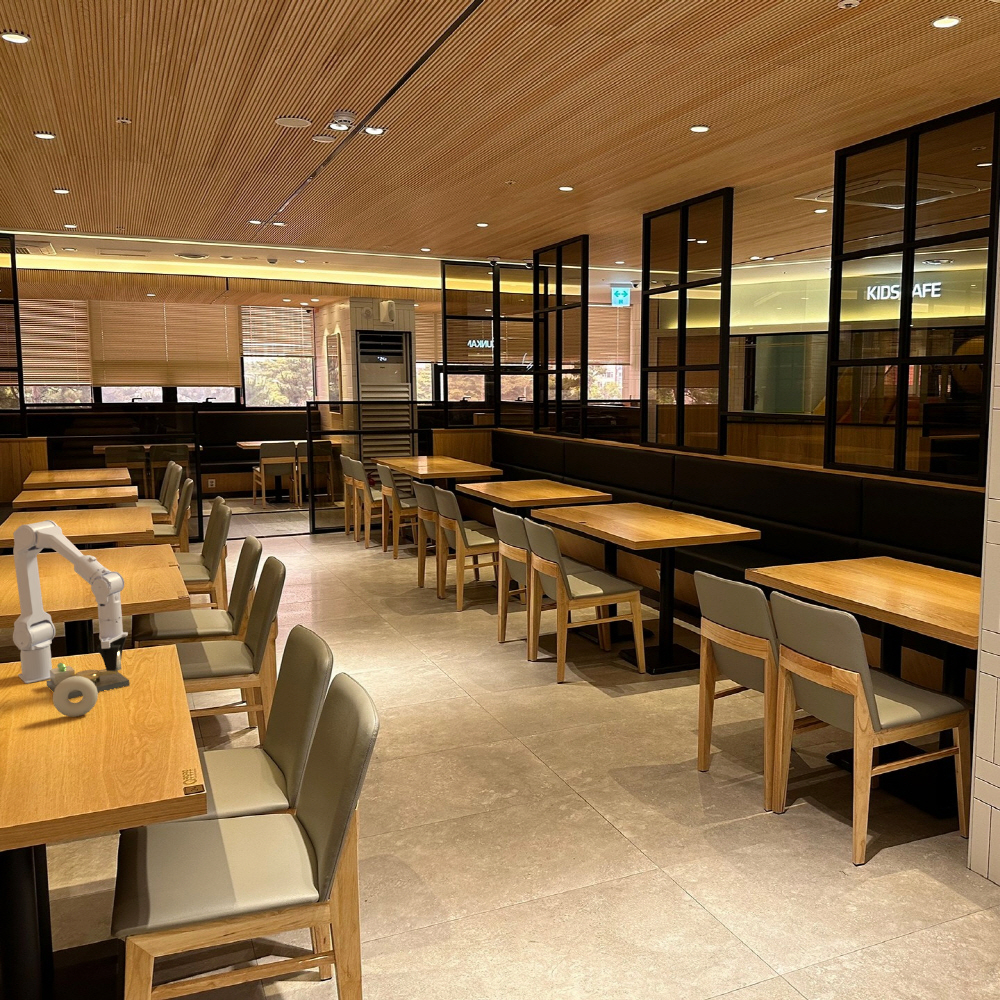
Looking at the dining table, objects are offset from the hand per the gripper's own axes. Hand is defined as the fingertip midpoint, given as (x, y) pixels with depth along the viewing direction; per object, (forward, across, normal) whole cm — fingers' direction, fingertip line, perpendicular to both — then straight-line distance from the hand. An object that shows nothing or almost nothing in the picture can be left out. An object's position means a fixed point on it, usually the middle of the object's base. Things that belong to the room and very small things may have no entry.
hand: (113, 667), depth 241 cm
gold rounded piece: (+3, 0, +4) cm, 5 cm away
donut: (+5, -24, +4) cm, 25 cm away
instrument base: (+5, 0, +7) cm, 8 cm away
